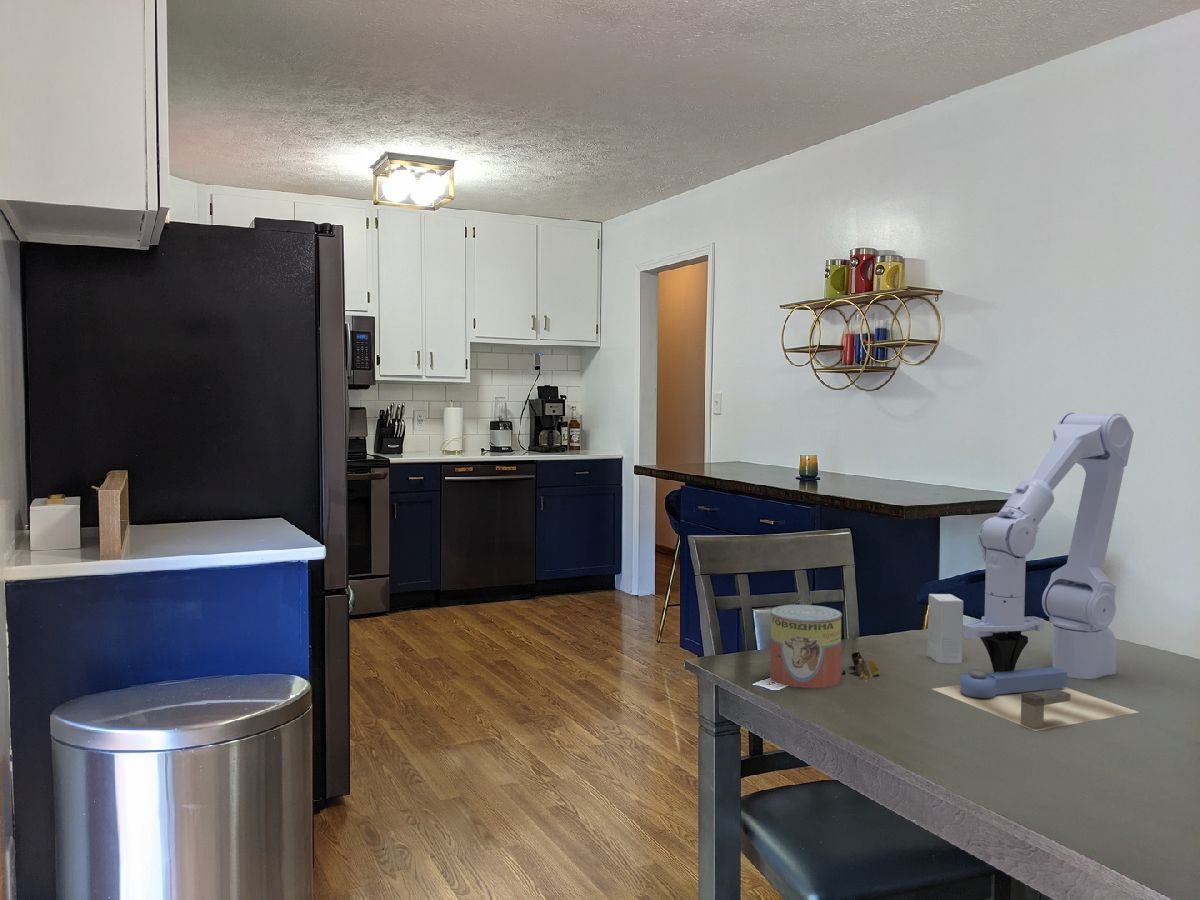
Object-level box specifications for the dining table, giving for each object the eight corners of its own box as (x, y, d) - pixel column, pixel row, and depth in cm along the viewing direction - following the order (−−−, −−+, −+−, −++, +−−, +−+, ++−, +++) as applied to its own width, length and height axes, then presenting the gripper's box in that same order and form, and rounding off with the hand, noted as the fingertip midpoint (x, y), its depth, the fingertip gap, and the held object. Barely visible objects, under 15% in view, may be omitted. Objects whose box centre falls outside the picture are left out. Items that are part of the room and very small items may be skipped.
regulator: (883, 706, 143) (881, 664, 157) (875, 683, 142) (874, 643, 156) (836, 717, 145) (838, 674, 159) (827, 694, 145) (830, 653, 159)
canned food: (765, 692, 147) (766, 617, 146) (774, 672, 158) (774, 602, 157) (839, 699, 144) (840, 622, 143) (842, 678, 154) (843, 607, 154)
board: (1027, 681, 152) (1027, 674, 152) (1139, 720, 134) (1139, 712, 134) (931, 696, 145) (931, 688, 145) (1035, 739, 126) (1035, 730, 126)
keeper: (1055, 726, 131) (1056, 688, 131) (1069, 732, 129) (1070, 693, 129) (1020, 732, 129) (1021, 694, 128) (1034, 738, 127) (1035, 699, 126)
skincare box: (963, 670, 159) (964, 600, 158) (937, 669, 159) (939, 600, 159) (950, 660, 165) (951, 593, 165) (926, 660, 165) (927, 593, 165)
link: (974, 699, 139) (975, 678, 138) (953, 689, 143) (953, 668, 143) (1071, 689, 143) (1071, 668, 143) (1047, 680, 148) (1048, 660, 148)
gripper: (1019, 585, 152) (1017, 667, 153) (949, 592, 147) (948, 677, 147) (1055, 593, 145) (1053, 679, 146) (983, 601, 140) (981, 690, 141)
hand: (1002, 679), depth 146 cm, fingers closed, pressing on link
